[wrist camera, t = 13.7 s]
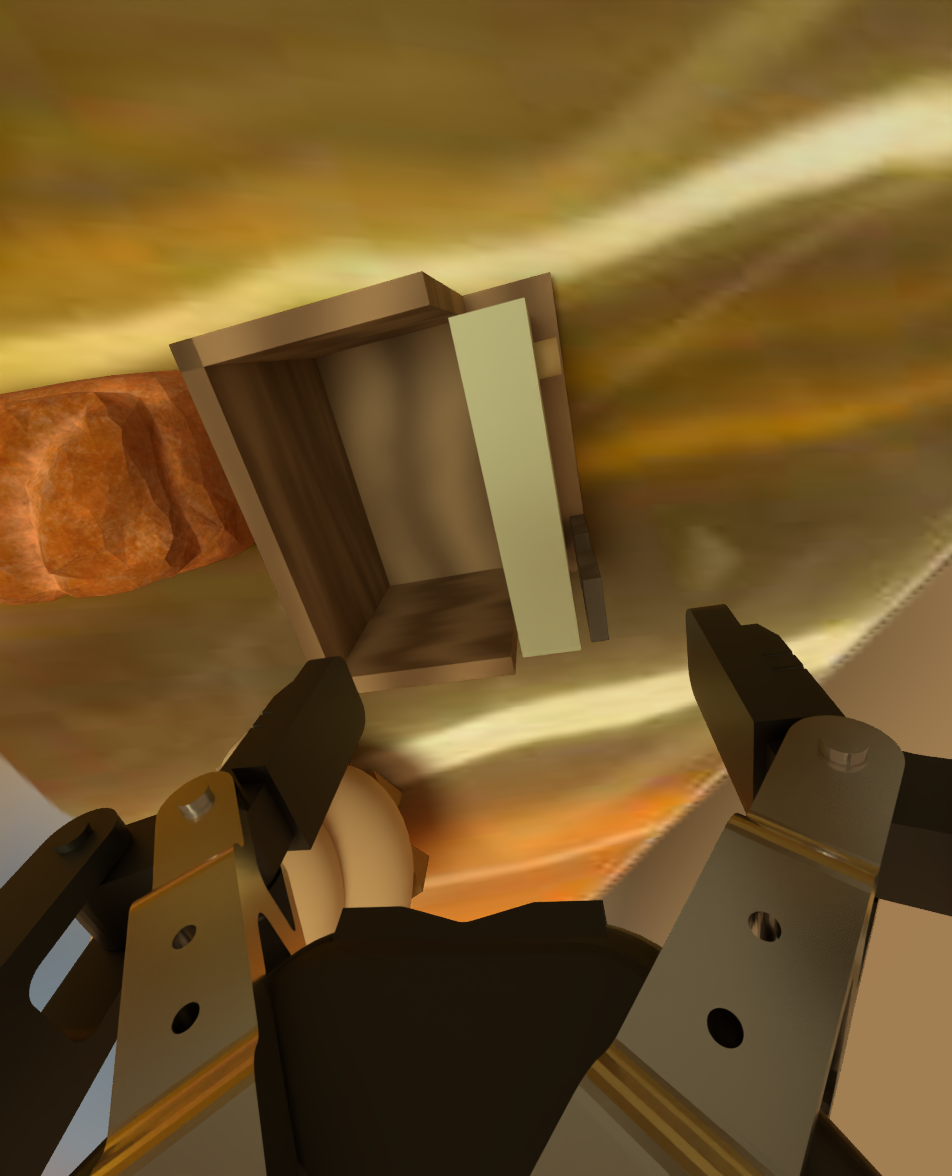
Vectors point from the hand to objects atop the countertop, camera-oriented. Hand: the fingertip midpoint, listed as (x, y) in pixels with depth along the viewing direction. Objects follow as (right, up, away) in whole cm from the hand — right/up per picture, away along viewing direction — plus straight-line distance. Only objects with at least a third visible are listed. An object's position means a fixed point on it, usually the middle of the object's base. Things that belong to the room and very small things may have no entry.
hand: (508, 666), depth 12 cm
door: (+3, +12, +23) cm, 26 cm away
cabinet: (-2, +11, +26) cm, 28 cm away
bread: (-31, +11, +30) cm, 44 cm away
